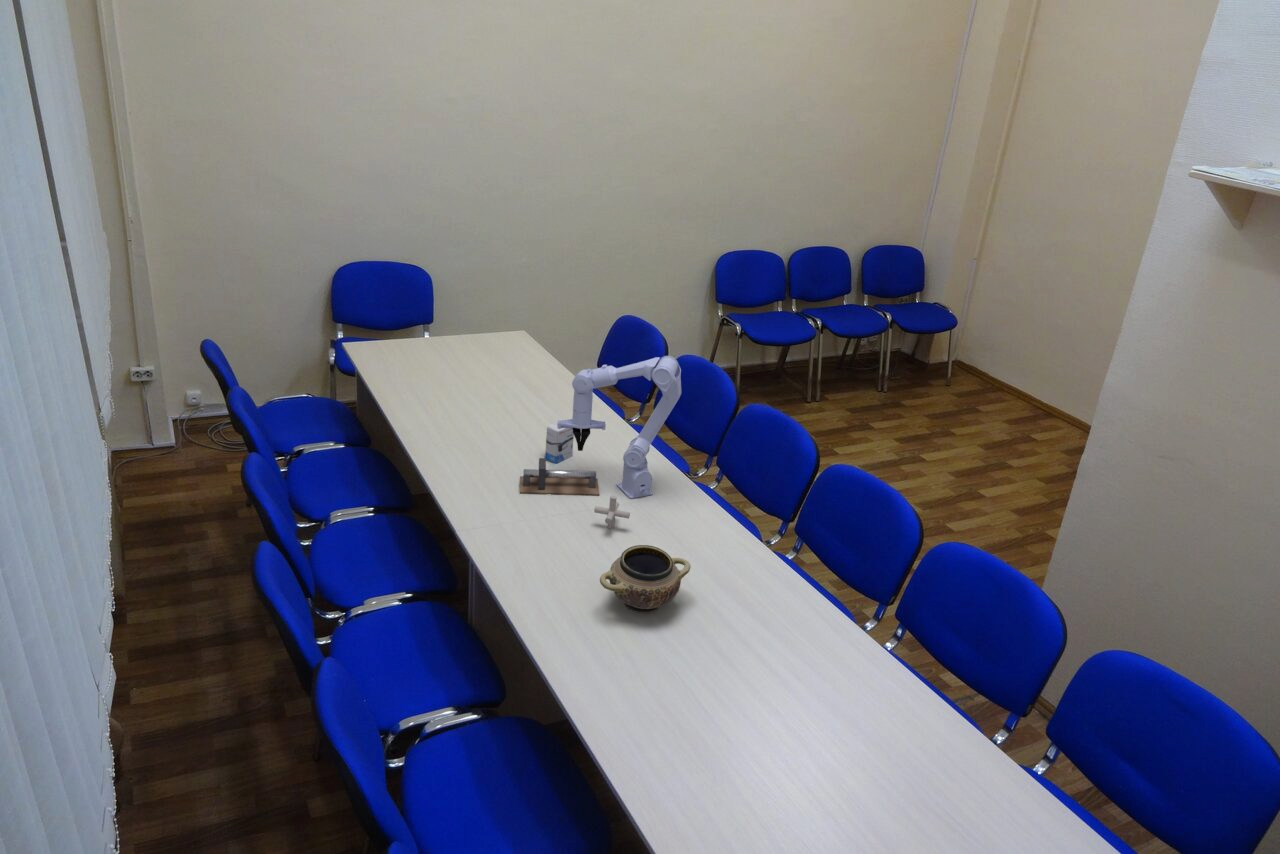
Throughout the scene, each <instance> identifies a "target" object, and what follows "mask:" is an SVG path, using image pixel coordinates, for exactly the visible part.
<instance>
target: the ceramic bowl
mask: <svg viewBox="0 0 1280 854" xmlns="http://www.w3.org/2000/svg"><path fill="white" fill-rule="evenodd" d="M677 564H678V565H679V564H680V565H682V566H684V567H683V568H682V569H678V567H677V566H676V565H677ZM690 570H691V563H690V562H689V561H688V560H687V559H684V558H682V557H671V556H670V555H669V553H668V552H666V551H664V550H663V549H662V548H659V547H657V546H653V545H648V544H647V545H646V544H644V545H643V544H638V545H632V546H630V547H628V548H626V549H625V550H624V551H623V552H622V553H621V555H620V556H619V557H618V558H617V559H615V560H614V562H613V563H612V564H611V566H610V568H609V570H607V572H606V571H605V572H604V573H602V574H601V576H600V577H599V582H600V585H601V586H602V587H603V588H604V589H605V590H608V591H611V592H613V593H614V595H615V596H616V597H617V598H618V599H619V600H620V601H621V602H623V604H624V605H625V607H626V608H627V609H629V610H631V611H633V612H635V613H636V612H637V613H640V614H649V613H654V612H655V611H657V610H659V608H660V607H663V606H665V605H667V604H668V603H669V602H671V601H672V600H673V599H674V598H675V597H676V595H677V594H678V593H679V591H680V588H681V583H682V579H684V577H685V576H686V575H687V574H688V573H689V572H690ZM607 580H608V581H609V582H608V581H607Z"/></svg>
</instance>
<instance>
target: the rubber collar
mask: <svg viewBox="0 0 1280 854" xmlns="http://www.w3.org/2000/svg"><path fill="white" fill-rule="evenodd" d="M538 470H539V477H538V489H545V478H546V470H547V460H546V458H545V457H538Z"/></svg>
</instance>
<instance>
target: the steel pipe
mask: <svg viewBox="0 0 1280 854" xmlns="http://www.w3.org/2000/svg"><path fill="white" fill-rule="evenodd" d="M522 476H523V487H530V477H539V469H536V468H535V469H533V468H529V469H528V468H523V475H522ZM546 478H575V479H589V482H588V484H589V488H595V487H596V478H597V471H595V470H568V469H567V470H565V469H546Z"/></svg>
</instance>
